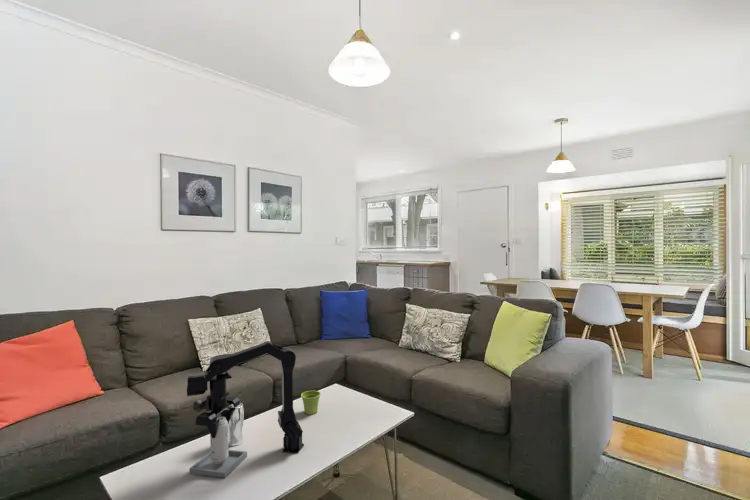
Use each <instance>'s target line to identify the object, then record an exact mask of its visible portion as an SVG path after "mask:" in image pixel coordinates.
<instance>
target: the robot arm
mask: <svg viewBox="0 0 750 500" xmlns="http://www.w3.org/2000/svg"><path fill="white" fill-rule="evenodd" d="M267 354H268V355H269V356H271V357H273V358H275V359H277V360H278V361H279V365H280V369H281V390H282V391H281V395H282V398H281V399H282V401H281V402H282V406H281V407H282V408H281V410H277V416H278V417H277V418H278V419H277V422H278V425H279V427H280V428H281V430H282V432H283V433H284V435H283V438H282V439H283V445H282V446H283V449H282V452H283V453H292V454H298V453H299V452H300V451H301V449H303V447H304V445H305V444H304V443H303V432H304V431H303V429H302V427H301V425H300V422H299V421H298V420H297V417H296V414H295V410H294V387H293V385H294V384H293V383H294V382H293V381H294V380H293V379H294V378H293V372H294V368H295V366H296V358H297V357H296V354H295V352H294V350H292V348H290V347H288V346H285V347H282V346H280V345H278V344H276V343H273V342H271V341H269V340H268V341H264V342H262V343H259V344H257V345H253V346H251V347H248V348H245V349H242V350H240V351H237V352H234V353H225V354H224V353H223V354H216V355H215V356H212V357H211V359H210V360H209V364H208V367H207V368H206V370H205V371H204V373H203V374H200V375H188V376H187V386H186V397H192V396H193V397H194V396H200V395H205V393H206V392H207V391H208V389H209V395H207V396H206V397H205V398H202V399H199V400H196V401H194V402H193V405H192V407H193V411H194V412H197V413H200V412H202V411H203V410H205V411H206V412H202V413H200V414H199V415H197V416H196V417H195V418H194V425H195V426H201V427H202V426H203V427H206V428H207V430H208V432H209V435H210V434H211V437H212V438H215V437H216V434H217V429H218V425H219V421H220V420H217V417H218V415H219V414H220V416H224V417H226V420H227V421H228V424H229V421H230V419H231V417H232V415H233V413H234V411H235V410H236V408H233V406H234V407H237V406H239V405H240V403H241V399H240V398H239V397H237V396H229V395H230V392H229V391H227V380H228V379H232V377H233V376H232V373H230V372H229V371H230V370H231V369H232V368H234V367H236V366H237V365H239V364H243V363H245V362H248V361H250V360H254V359H256V358H259V357H261V356H264V355H267ZM208 383H209V388H208ZM232 404H233V406H232Z"/></svg>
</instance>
